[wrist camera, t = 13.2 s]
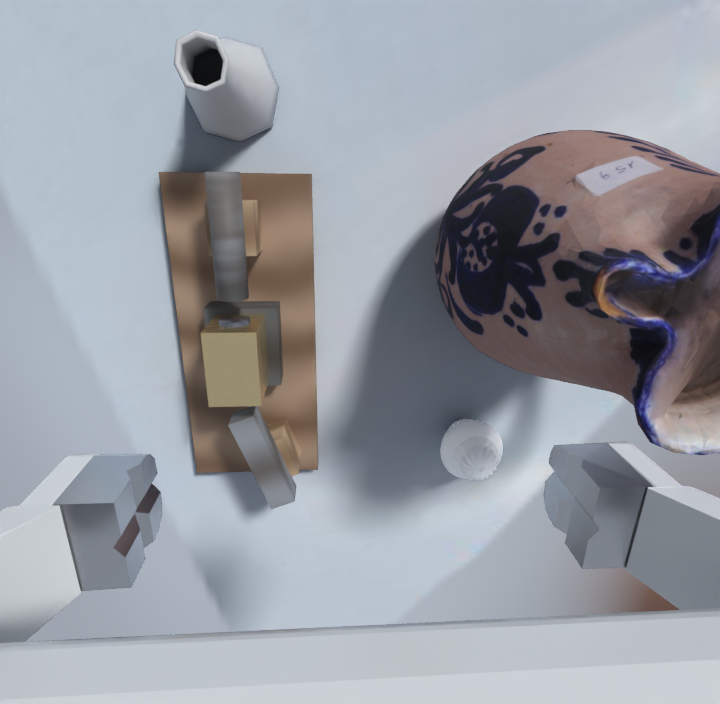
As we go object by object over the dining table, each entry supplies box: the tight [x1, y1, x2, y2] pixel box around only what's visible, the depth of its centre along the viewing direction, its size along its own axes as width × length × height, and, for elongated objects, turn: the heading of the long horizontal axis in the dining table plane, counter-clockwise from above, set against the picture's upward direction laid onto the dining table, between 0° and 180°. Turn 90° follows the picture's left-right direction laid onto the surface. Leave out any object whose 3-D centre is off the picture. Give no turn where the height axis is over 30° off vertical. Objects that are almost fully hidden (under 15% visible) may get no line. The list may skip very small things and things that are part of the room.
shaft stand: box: [159, 172, 318, 509], centre depth 40 cm, size 28×12×8 cm, turn 179°
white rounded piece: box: [440, 419, 503, 481], centre depth 45 cm, size 6×6×7 cm
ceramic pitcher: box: [434, 130, 720, 455], centre depth 31 cm, size 18×21×25 cm
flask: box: [174, 30, 279, 142], centre depth 32 cm, size 7×7×10 cm
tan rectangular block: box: [201, 314, 269, 407], centre depth 38 cm, size 7×4×5 cm, turn 179°
